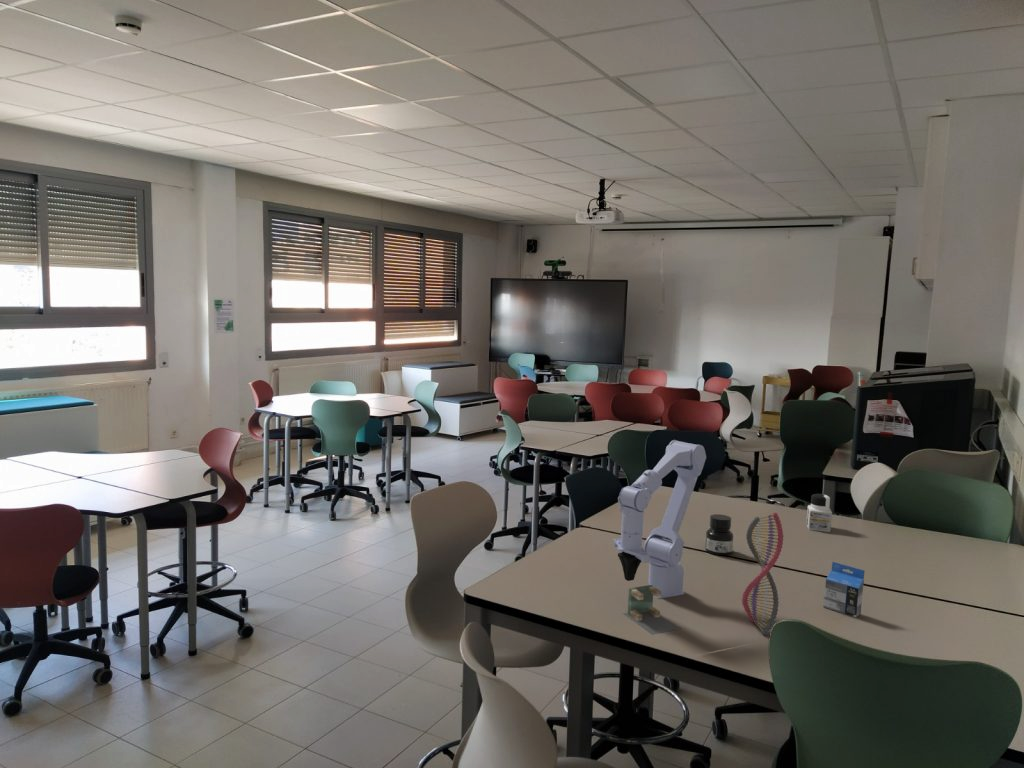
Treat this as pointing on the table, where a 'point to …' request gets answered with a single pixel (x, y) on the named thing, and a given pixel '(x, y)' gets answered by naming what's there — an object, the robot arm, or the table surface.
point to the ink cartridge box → (844, 590)
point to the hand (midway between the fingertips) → (629, 579)
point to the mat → (654, 623)
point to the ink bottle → (719, 535)
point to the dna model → (763, 571)
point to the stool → (642, 601)
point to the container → (819, 513)
